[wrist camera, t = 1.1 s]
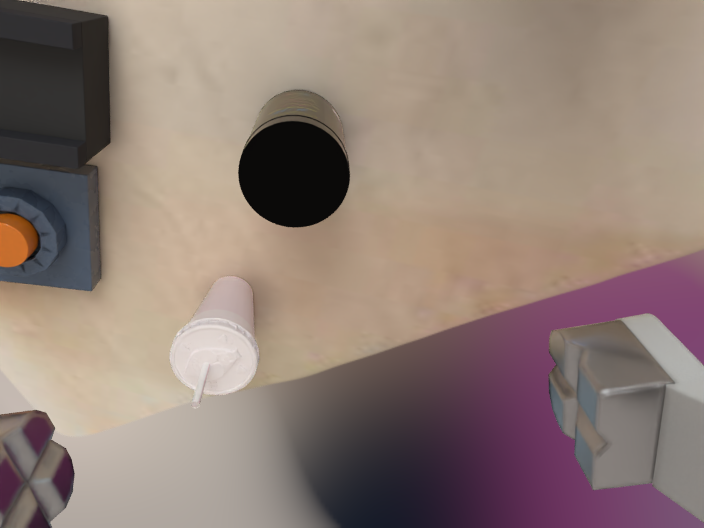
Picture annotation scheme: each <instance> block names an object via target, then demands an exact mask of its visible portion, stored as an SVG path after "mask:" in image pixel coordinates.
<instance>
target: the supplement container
mask: <svg viewBox="0 0 704 528" xmlns="http://www.w3.org/2000/svg"><path fill="white" fill-rule="evenodd" d="M238 174H239V183H240V187H241V190H242V193H243V195H244V197H245V199H246V200H247V202H248V203H249V205H250V206H251V207H252V208H253V209H254V210H255V211H256V212H257V213H258V214H259V215H260V216H262V217H263V218H265V219H266V220H268V221H270V222H272V223H275V224H278V225H281V226H286V227H305V226H310V225H313V224H316V223H319V222H321V221H323V220H324V219H326V218H328V217H329V216H330V215H331V214H333V213H334V212H335V211H336V210H337V209H338V207H339V206H340V205H341V203H342V202H343V200H344V198H345V196H346V193H347V191H348V187H349V181H350V171H349V160H348V155H347V152H346V147H345V141H344V134H343V128H342V123H341V120H340V118H339V115H338V114H337V112H336V110H335V109H334V107H333V106H332V105H331V104H330V103H329V102H328V101H327V100H325V99H324V98H323V97H321V96H319V95H317V94H315V93H312V92H309V91H304V90H291V91H286V92H283V93H281V94H278V95H277V96H275V97H273V98H272V99H271V100H269V101H268V102H267V103H266V104H265V105H264V107H263V108H262V110H261V111H260V113H259V115H258V118H257V120H256V122H255V125H254V127H253V130H252V132H251V135H250V137H249V139H248V140H247V142H246V144H245V146H244V149H243V152H242V155H241V158H240V163H239V170H238Z"/></svg>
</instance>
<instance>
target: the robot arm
mask: <svg viewBox="0 0 704 528" xmlns="http://www.w3.org/2000/svg"><path fill="white" fill-rule="evenodd" d="M549 353H550V355H551V356H552V358H553V360H554V362H555V363H556V366H555V367H554V368H553V370H552V371H551V372H550V374H549V394H550V399H551V404H552V409H553V412H554V414H555V417H556V420H557V422H558V424H559V426H560V428H561V430H562V432H563V433H564V434H566V435H567V436H569V437H571V438H572V439H574V440H575V457H576V459H577V461H578V462H579V464H580V466H581V468H582V470H583V472H584V474H585V476H586V477H587V479H588V481H589V483H590V485H591V487H592V489H593V490H597V489H606V488H614V487H623V486H631V485H640V484H648V483H653V487H655V488H656V489H658V490H659V491H660V492H662V493H663V494H665V495H666V496H667V497H669V498H670V499H671V500H673V501H674V502H676V503H677V504H679V505H680V506H681V507H683V508H684V509H686V510H687V511H688V512H690V513H691V514H692V515H694V516H695V517H697V518H698V519H699V520H701V521H702V522H704V365H703V364H702V363H701V362H700V361H699V360H698V359H697V358H696V357H695V356H694V355H693V354H692V353H691V352H690V351H689V350H688V349H687V348H686V347H685V346H684V345H683V344H682V343H681V342H680V341H679V340H678V339H677V338H676V337H675V336H674V335H673V334H672V333H671V332H670V331H669V330H668V329H667V328H666V327H665V325H664V324H662V323H661V321H660V320H659V319H658V318H657V317H656V316H654V315H651V314H642V315H637V316H631V317H625V318H620V319H616V320H615V321H609V322H603V323H597V324H591V325H584V326H578V327H571V328H565V329H559V330H552V332H551V335H550V338H549ZM54 430H55V427H54V425H53V424H52V422H51V420H50V419H49V417H48V415H47V413H45V412H42V411H38V410H33V411H25V412H17V413H9V414H1V415H0V528H52V526H51V524H50V522H51V521H52V520H53V519H54V518H55V517H56V516H57V515H58V514H59V513H61V512H62V511H63V510H64V509H65V508H66V506H67V503H68V501H69V499H70V497H71V494H72V492H73V483H74V469H73V464H72V459H71V457H70V455H69V454H68V452H67V450H66V448H64V447H63V446H61V445H59V444H58V443H56V442H54V441H53V440H51V439H52V436H53V433H54Z"/></svg>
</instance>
